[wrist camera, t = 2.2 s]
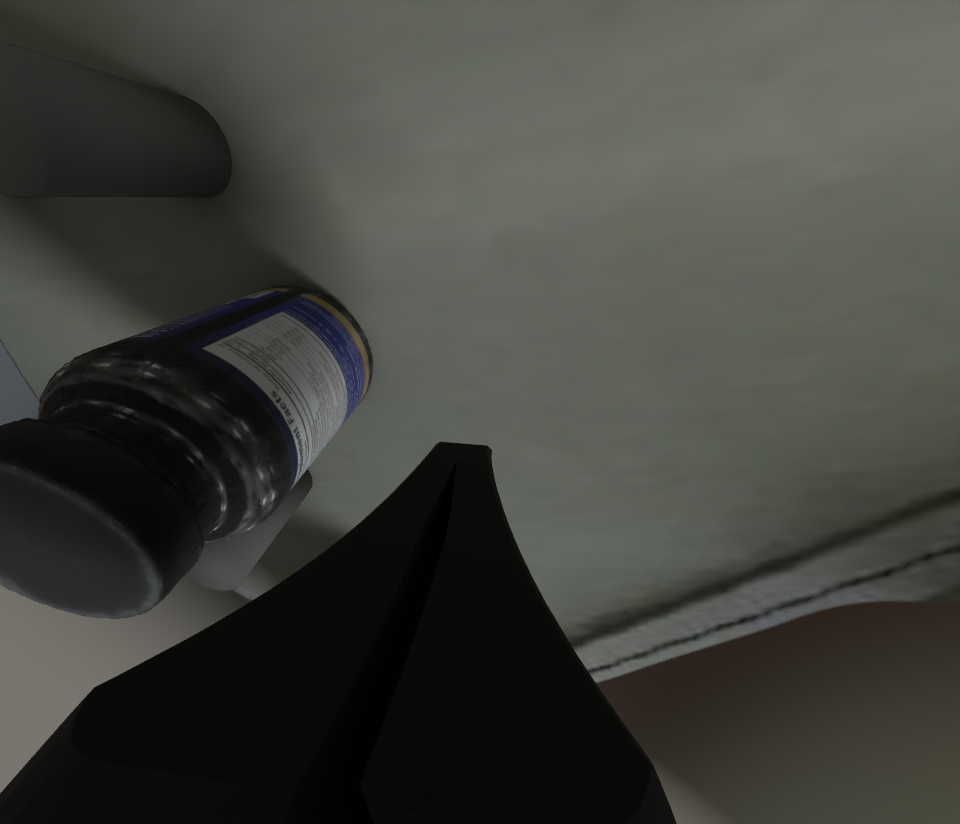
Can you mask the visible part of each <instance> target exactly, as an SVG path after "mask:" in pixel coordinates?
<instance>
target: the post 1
mask: <svg viewBox="0 0 960 824" xmlns="http://www.w3.org/2000/svg"><path fill="white" fill-rule="evenodd" d="M230 175H231V156H230V151H229V147H228V144H227V141H226V139H225V136H224V134H223V132H222V130H221V129H220V127H219V126H218V124H217V123H216V121H215V120H214V119H213V117H212V116H211V115H210V114H209V113H208V112H207V111H206V110H205V109H204V108H203V107H202V106H200V105H199V104H198V103H196V102H194V101H193V100H191V99H189V98H186V97H183V96H180V95H177V94H173V93H170V92H167V91H163V90H160V89H157V88H153V87H150V86H147V85H143V84H140V83H137V82H134V81H130V80H127V79H124V78H120V77H117V76H114V75H110V74H107V73H104V72H100V71H97V70H94V69H90V68H87V67H84V66H80V65H77V64H74V63H70V62H67V61H64V60H60V59H57V58H54V57H50V56H47V55H44V54H40V53H37V52H34V51H31V50H27V49H24V48H21V47H17V46H14V45H11V44H7V43H4V42H1V41H0V193H2V194H6V195H10V196H31V197H212V196H215V195H217V194H219V193H220V192H221V191H222V190H223V189H224V188H225V187H226V185H227V183H228V181H229V178H230Z"/></svg>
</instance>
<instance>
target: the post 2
mask: <svg viewBox="0 0 960 824" xmlns="http://www.w3.org/2000/svg"><path fill="white" fill-rule="evenodd" d="M311 487H312V477H311V475H310V473H309V471H308V470H306V471H305V472H304V474H303V475H302V476H301V477H300V479H299V480H298V481H297V482H296V484H295V485H294V486H293V488H292V489H291V490H290V492H289V493H288V494H287V495H286V497H285V498H284V499H283V500H282V501H281V503H280V504H279V506H278V507H277V508H276V510H275V511H274V512H273V513H272V514H271V516H269V517H268V518H267V519H266V521H264V522H263V523H261V524H260V525H258V526H257V527H255V528H254V529H252V530H250V531H248V532H247V533H245V534H242V535H240V536H237V537H234V538H230V539H228V540H224V541H217V542H209V543H205V544H204V547H203V550H202V553H201V555H200V557H199V559H198V561H197V562H196V564H195V566H194V567H193V568H192V569H191V570H190V571H189V572H188V573H186V574H185V575H184V576H186V577H187V578H188V579H190V580H192V581H193V582H195V583H197V584H199V585H201V586H204V587H207V588H210V589H214V590H223V591H226V590H233V589H235V588H237V587H239V586H240V585H241V583H242V582H243V581H244V579H245V578H246V577H247V575H248V574H249V573H250V571H251V570H252V568H253V567H254V566H255V564H256V563H257V562H258V560H259V559H260V558H261V556H262V555H263V554H264V552H265V551H266V549H267V548H268V547H269V545H270V544H271V543H272V541H273V540H274V539H275V537H276V536H277V534H278V533H279V532H280V530H281V529H282V528H283V526H284V525H285V524H286V522H287V521H288V519H289V518H290V517H291V515H292V514H293V513H294V511H295V510H296V509H297V507H298V506H299V505H300V503H301V502H302V500H303V499H304V498H305V496H306V495H307V494H308V492H309V491H310V489H311Z"/></svg>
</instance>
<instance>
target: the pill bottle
mask: <svg viewBox="0 0 960 824" xmlns="http://www.w3.org/2000/svg"><path fill="white" fill-rule="evenodd" d="M372 372H373V360H372V354H371V350H370V347H369V343H368V341H367V338H366V336H365V335H364V333H363V331H362V329H361V327H360V326H359V324H358V323H357V322H356V321H355V319H354V318H353V317H352V316H351V315H350V314H349V313H348V312H347V311H346V310H345V309H344V308H343V307H342V306H340V305H339V304H337V303H336V302H335V301H333V300H331V299H329V298H328V297H326V296H324V295H322V294H318V293H316V292H313V291H310V290H307V289H303V288H300V287H294V286H280V287H277V286H276V287H271V288H268V289H264V290H262V291H260V292H257V293H253V294H250V295H247V296H245V297H242V298H239V299H236V300H233V301H230V302H228V303H225V304H222V305H219V306H216V307H213V308H210V309H207V310H205V311H202V312H199V313H196V314H193V315H191V316H188V317H185V318H182V319H179V320H177V321H174V322H171V323H168V324H165V325H162V326H160V327H157V328H154V329H151V330H148V331H146V332H143V333H140V334H137V335H134V336H132V337H129V338H126V339H123V340H120V341H117V342H114V343H111V344H109V345H106V346H103V347H100V348H96V349H93V350H91V351H90V352H87V353H84V354H82V355H80V356H77V357H75V358H74V359H73V360H72V361H71V362H69V363H66V364H65V365H64V366H63V367H62V368H61V369H59V370H58V371H57V372H56V373H55V374H54V375H53V377H52V378H51V379H50V380H49V383H48V384H47V386H46V387H45V390H44V391H43V393H42V395H41V398H40V405H39V408H38V409H39V413H38V416H39V417H38V419H32V418H24V419H21V420H19V421H13V422H11V423H6V424H3V425H1V426H0V584H1V585H3V586H4V587H5V588H7V589H9V590H11V591H14V592H16V593H18V594H20V595H22V596H25V597H27V598H29V599H31V600H34V601H36V602H39V603H41V604H46V605H48V606H51V607H53V608H56V609H60V610H63V611H67V612H71V613H75V614H79V615H82V616H88V617H96V618H111V619H119V618H128V617H133V616H136V615H141V614H143V613H146V612H147V611H149V610H151V609H152V608H153V607H154V606H156V605H157V604H158V603H159V602H160V601H162V600H163V599H164V598H165V597H166V596H167V595H168V594H169V593H170V591H171V590H172V589H173V588H174V586H175V585H176V584H177V583H178V582H179V580H180V579H181V578H182V577H183V576H184V575H185V574H186V573H188V572H189V571H190V570H191V569H192V568H193V567H194V566H195V564H196V562H197V561H198V559H199V557H200V555H201V553H202V550H203V547H204V544H205V543H209V542H217V541H224V540H228V539H230V538H234V537H237V536H240V535H242V534H245V533H247V532H248V531H250V530H252V529H254V528H255V527H257V526H258V525H260V524H261V523H263V522H264V521H266V519H267V518H268V517H269V516H271V514H272V513H273V512H274V511H275V510H276V508H277V507H278V506H279V504H280V503H281V501H282V500H283V499H284V498H285V497H286V495H287V494H288V493H289V492H290V490H291V489H292V488H293V486H294V485H295V484H296V482H297V481H298V480H299V479H300V477H301V476H302V475H303V474H304V472H305V471H306V470H307V469H308V467H309V466H310V465H311V464H312V463H313V461H314V460H315V458H316V457H317V456H318V455H319V453H320V452H321V451H322V450H323V448H324V447H325V446H326V445H327V444H328V442H329V441H330V440H331V438H332V437H333V436H334V434H335V433H336V432H337V431H338V429H339V428H340V427H341V426H342V424H343V423H344V422H345V420H346V419H347V418H348V417H349V415H350V414H351V413H352V412H353V410H354V409H355V408H356V407H357V405H358V404H359V403H360V402H361V401H362V399H363V398H364V396H365V394H366V393H367V391H368V389H369V387H370V384H371V380H372Z"/></svg>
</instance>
